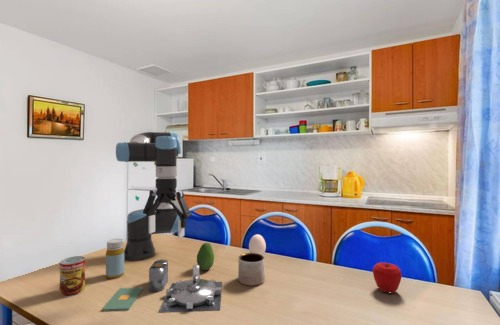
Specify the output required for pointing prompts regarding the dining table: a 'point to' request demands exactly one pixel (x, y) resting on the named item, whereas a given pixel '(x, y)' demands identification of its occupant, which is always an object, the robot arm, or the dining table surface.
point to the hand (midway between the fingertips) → (166, 234)
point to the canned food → (72, 276)
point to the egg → (257, 245)
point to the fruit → (205, 256)
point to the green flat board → (122, 299)
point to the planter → (251, 269)
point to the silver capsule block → (158, 276)
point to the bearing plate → (204, 307)
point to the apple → (387, 276)
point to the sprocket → (193, 291)
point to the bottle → (114, 258)
